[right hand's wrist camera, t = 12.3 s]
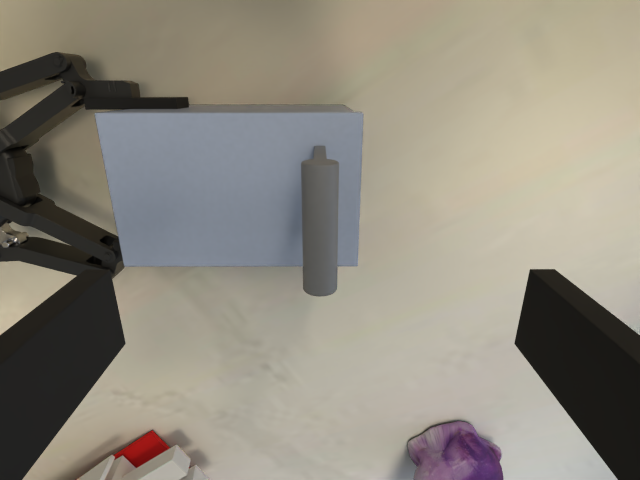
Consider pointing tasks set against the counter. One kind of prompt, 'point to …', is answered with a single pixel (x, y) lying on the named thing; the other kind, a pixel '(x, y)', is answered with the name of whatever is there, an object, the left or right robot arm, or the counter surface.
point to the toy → (146, 463)
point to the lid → (236, 189)
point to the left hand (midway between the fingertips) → (191, 175)
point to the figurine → (454, 454)
